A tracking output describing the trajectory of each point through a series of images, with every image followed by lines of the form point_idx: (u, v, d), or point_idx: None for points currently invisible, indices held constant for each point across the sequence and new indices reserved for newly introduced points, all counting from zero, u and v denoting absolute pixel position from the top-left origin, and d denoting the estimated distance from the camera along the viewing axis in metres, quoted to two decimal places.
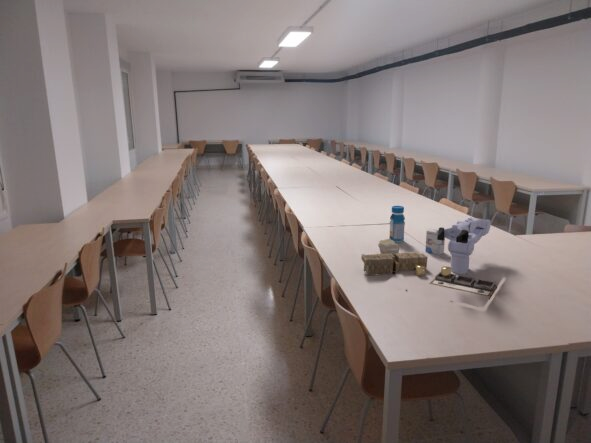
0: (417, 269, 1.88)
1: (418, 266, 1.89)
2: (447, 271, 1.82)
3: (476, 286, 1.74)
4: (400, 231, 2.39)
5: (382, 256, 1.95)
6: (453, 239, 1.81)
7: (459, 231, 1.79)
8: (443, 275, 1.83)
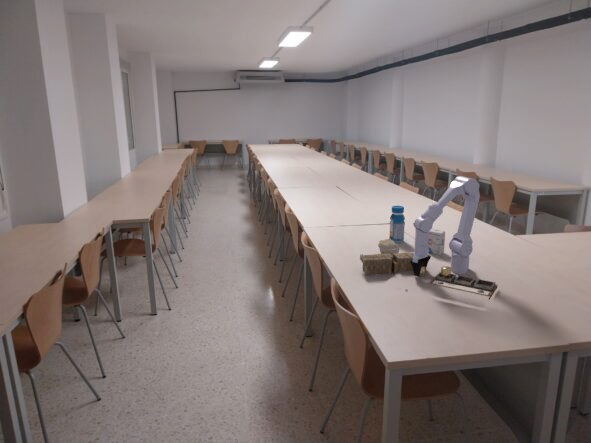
0: None
1: None
2: (447, 271, 1.82)
3: (476, 286, 1.74)
4: (400, 231, 2.39)
5: (381, 256, 1.95)
6: None
7: None
8: (443, 275, 1.83)
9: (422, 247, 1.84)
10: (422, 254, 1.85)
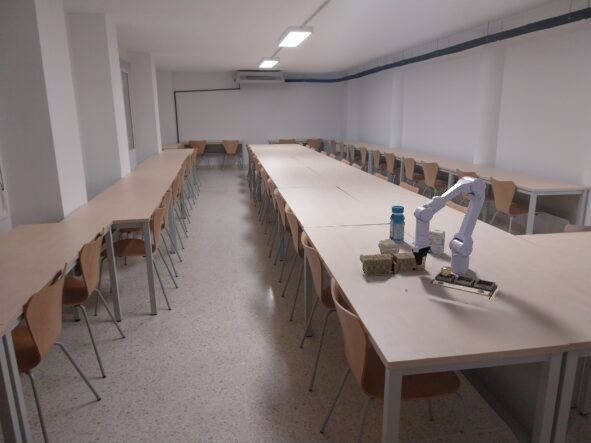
0: None
1: None
2: (447, 271, 1.81)
3: (476, 286, 1.74)
4: (400, 231, 2.39)
5: (381, 257, 1.95)
6: None
7: None
8: (443, 275, 1.83)
9: (423, 237, 1.83)
10: (423, 244, 1.84)
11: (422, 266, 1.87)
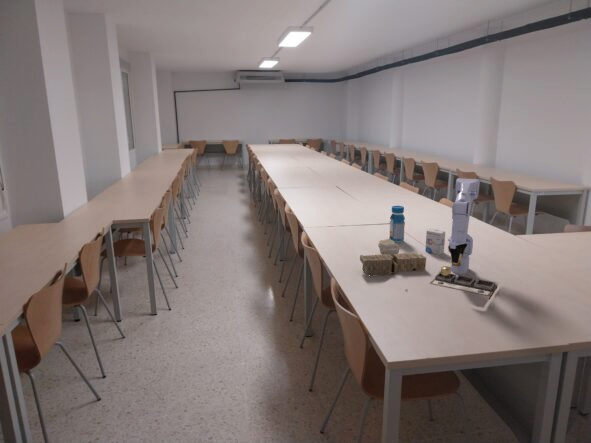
0: None
1: None
2: (447, 271, 1.81)
3: (476, 286, 1.74)
4: (400, 231, 2.39)
5: (381, 257, 1.94)
6: None
7: None
8: (443, 275, 1.83)
9: (460, 233, 1.73)
10: (460, 240, 1.74)
11: (458, 264, 1.77)
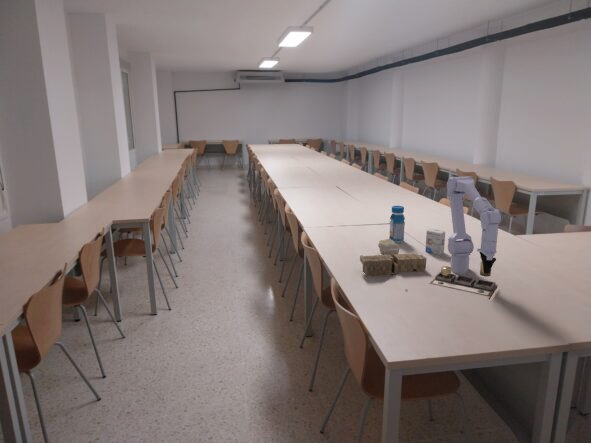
0: None
1: None
2: (447, 271, 1.81)
3: (476, 286, 1.74)
4: (400, 231, 2.39)
5: (381, 258, 1.94)
6: None
7: None
8: (443, 275, 1.82)
9: (493, 243, 1.68)
10: (492, 250, 1.69)
11: (489, 274, 1.72)
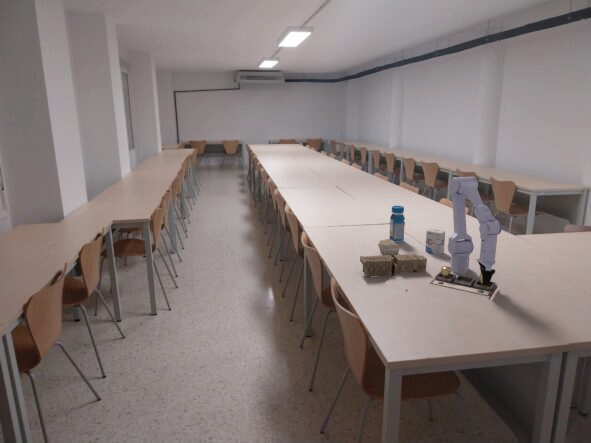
0: None
1: None
2: (447, 271, 1.82)
3: (476, 286, 1.74)
4: (400, 231, 2.39)
5: (381, 258, 1.93)
6: None
7: None
8: (444, 275, 1.82)
9: (492, 253, 1.69)
10: (491, 261, 1.70)
11: None
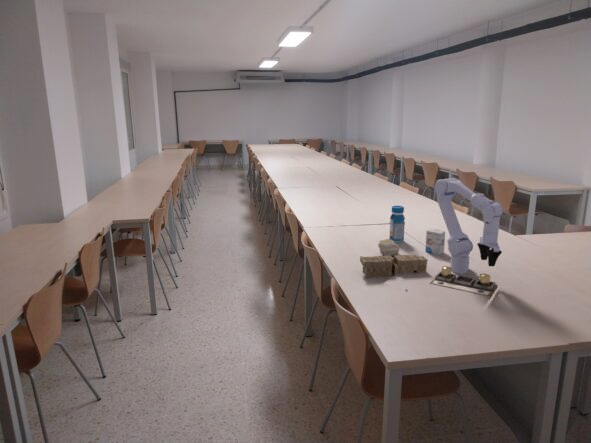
0: (483, 279, 1.73)
1: (483, 275, 1.74)
2: (448, 271, 1.81)
3: (476, 286, 1.74)
4: (400, 231, 2.39)
5: (381, 259, 1.92)
6: None
7: None
8: (444, 275, 1.82)
9: (496, 234, 1.74)
10: (495, 242, 1.74)
11: None
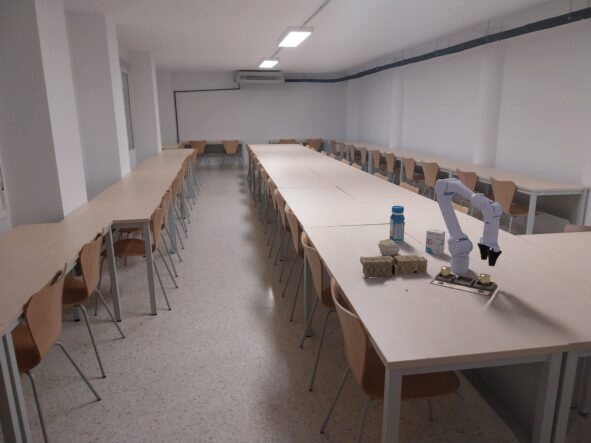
0: (483, 279, 1.73)
1: (483, 275, 1.74)
2: (448, 271, 1.82)
3: (476, 286, 1.74)
4: (400, 231, 2.39)
5: (381, 259, 1.92)
6: None
7: None
8: (444, 275, 1.82)
9: (496, 234, 1.74)
10: (496, 242, 1.75)
11: None
